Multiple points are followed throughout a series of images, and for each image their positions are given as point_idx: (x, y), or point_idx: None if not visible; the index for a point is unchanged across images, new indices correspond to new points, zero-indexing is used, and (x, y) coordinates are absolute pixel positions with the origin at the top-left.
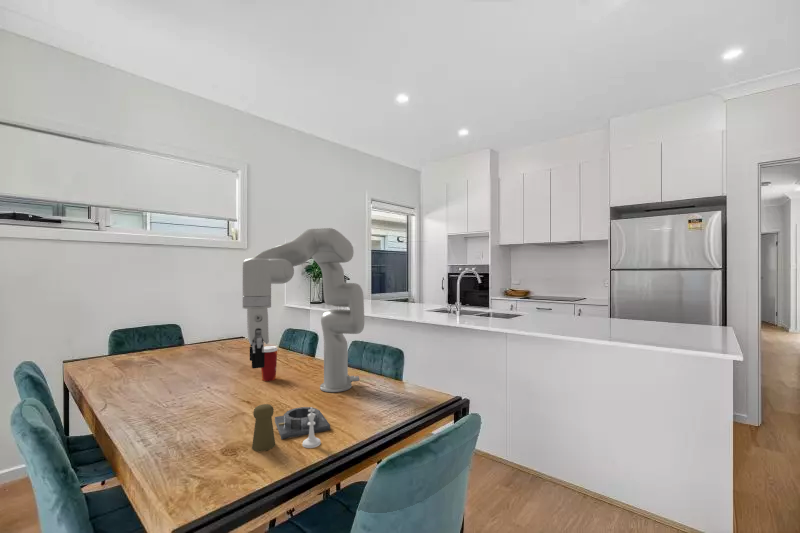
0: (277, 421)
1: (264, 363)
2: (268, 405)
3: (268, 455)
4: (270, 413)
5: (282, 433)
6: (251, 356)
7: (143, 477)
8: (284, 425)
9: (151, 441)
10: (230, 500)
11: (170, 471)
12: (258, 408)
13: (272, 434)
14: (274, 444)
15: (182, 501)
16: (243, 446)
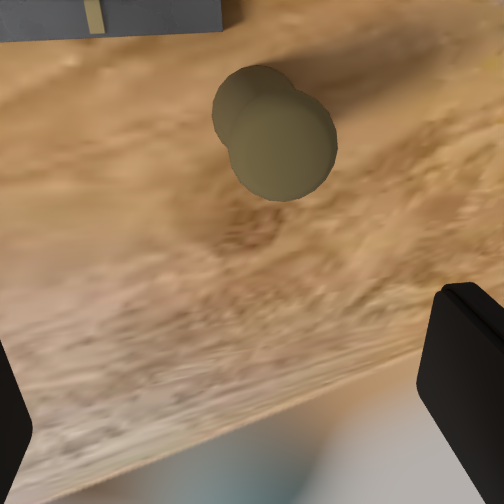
0: (46, 35)
1: (496, 303)
2: (295, 126)
3: (344, 100)
4: (326, 110)
5: (217, 26)
6: (9, 467)
7: (307, 393)
8: (114, 2)
9: (89, 430)
10: None
11: (306, 352)
12: (310, 183)
13: (288, 85)
14: (276, 71)
15: None
16: (227, 187)
